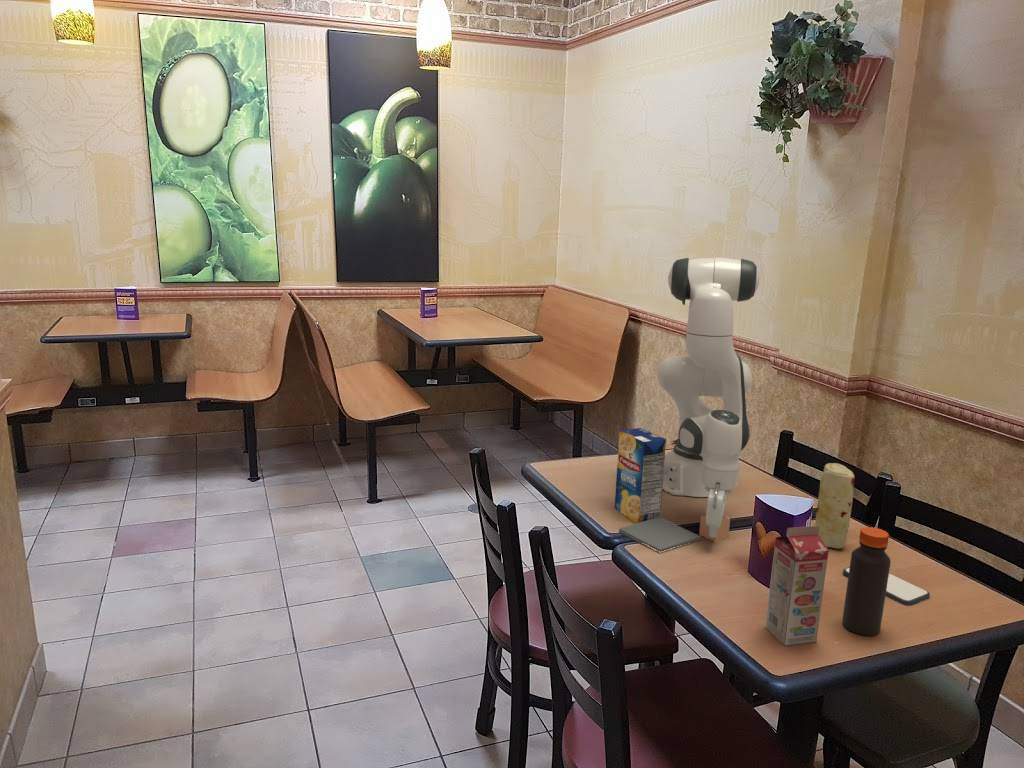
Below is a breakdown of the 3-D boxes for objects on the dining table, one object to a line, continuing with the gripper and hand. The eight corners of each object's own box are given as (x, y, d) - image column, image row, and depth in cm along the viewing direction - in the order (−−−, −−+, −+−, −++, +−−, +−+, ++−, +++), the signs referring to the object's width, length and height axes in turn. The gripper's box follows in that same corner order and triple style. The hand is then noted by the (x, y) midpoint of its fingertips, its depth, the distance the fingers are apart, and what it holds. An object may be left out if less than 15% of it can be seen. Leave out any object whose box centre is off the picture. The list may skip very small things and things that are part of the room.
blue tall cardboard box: (638, 524, 192) (644, 442, 187) (614, 508, 201) (619, 430, 196) (659, 520, 195) (666, 439, 190) (635, 505, 204) (640, 427, 199)
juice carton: (765, 626, 145) (777, 521, 140) (795, 623, 147) (808, 518, 142) (784, 645, 139) (798, 535, 134) (816, 641, 140) (830, 533, 135)
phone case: (931, 599, 159) (864, 567, 172) (933, 593, 158) (865, 561, 172) (906, 609, 154) (839, 575, 168) (907, 602, 154) (840, 569, 167)
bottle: (887, 636, 143) (902, 539, 138) (853, 637, 142) (867, 539, 138) (867, 617, 149) (881, 524, 145) (835, 618, 149) (848, 524, 144)
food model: (853, 550, 180) (864, 472, 175) (829, 553, 178) (840, 473, 174) (827, 534, 189) (837, 458, 184) (804, 536, 187) (813, 460, 183)
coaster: (618, 532, 186) (619, 528, 186) (658, 520, 194) (658, 516, 194) (659, 553, 175) (660, 549, 175) (700, 540, 183) (700, 536, 183)
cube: (699, 534, 186) (700, 515, 185) (712, 530, 189) (714, 511, 188) (715, 541, 182) (716, 522, 181) (728, 537, 185) (730, 518, 184)
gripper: (730, 493, 172) (724, 548, 175) (735, 466, 191) (729, 516, 194) (702, 489, 174) (697, 544, 177) (709, 462, 193) (705, 513, 196)
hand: (714, 529), depth 185 cm, fingers closed on cube, 7 cm apart
